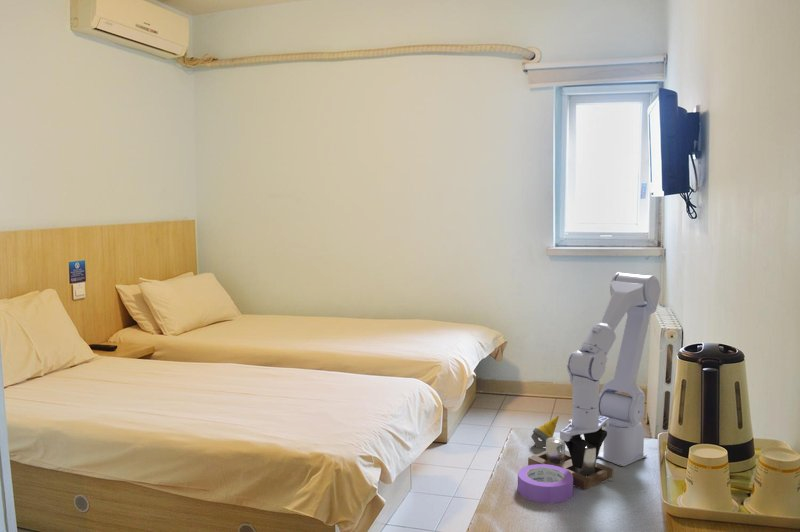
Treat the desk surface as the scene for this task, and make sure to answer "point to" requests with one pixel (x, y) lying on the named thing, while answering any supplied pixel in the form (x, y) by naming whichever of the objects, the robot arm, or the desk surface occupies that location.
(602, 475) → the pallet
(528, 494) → the masking tape
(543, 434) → the drill bit
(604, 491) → the desk surface
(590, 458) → the billet
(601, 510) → the desk surface
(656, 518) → the desk surface
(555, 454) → the billet
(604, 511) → the desk surface
